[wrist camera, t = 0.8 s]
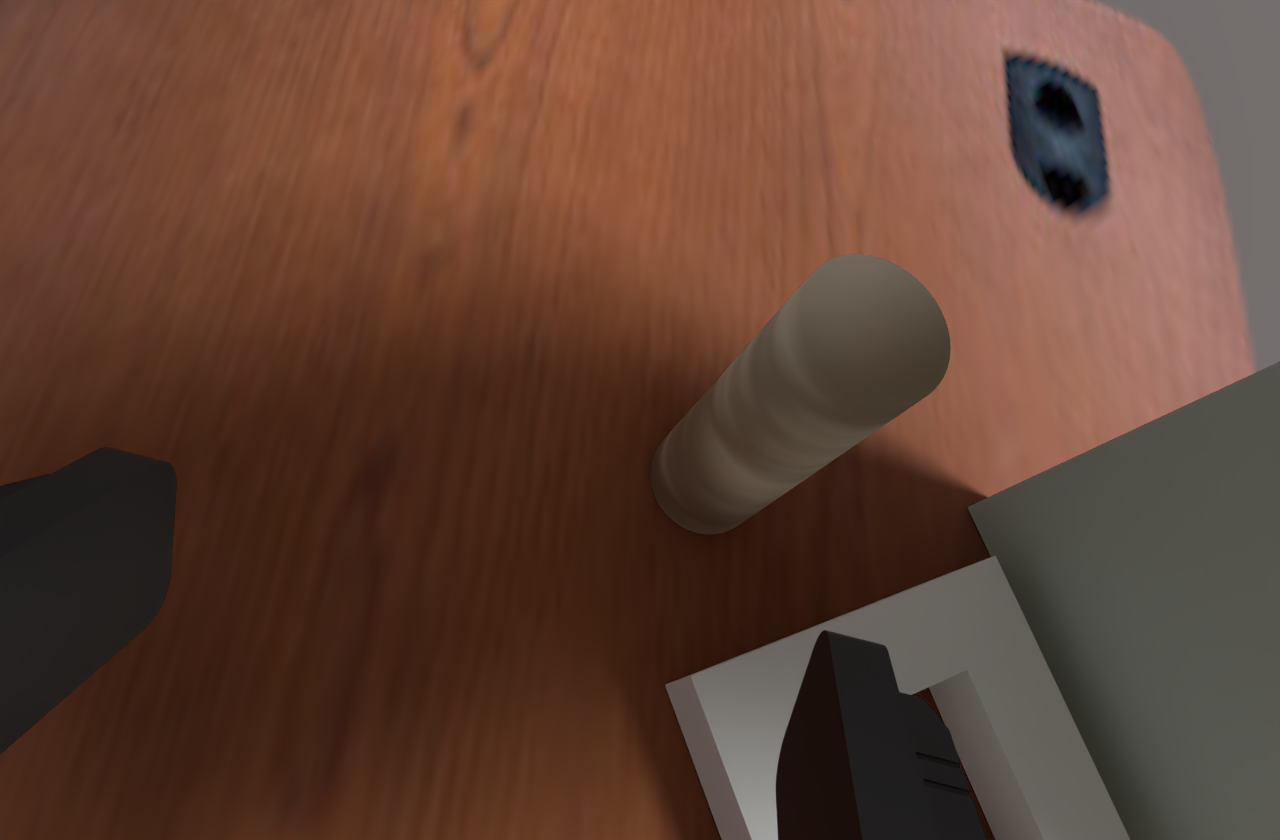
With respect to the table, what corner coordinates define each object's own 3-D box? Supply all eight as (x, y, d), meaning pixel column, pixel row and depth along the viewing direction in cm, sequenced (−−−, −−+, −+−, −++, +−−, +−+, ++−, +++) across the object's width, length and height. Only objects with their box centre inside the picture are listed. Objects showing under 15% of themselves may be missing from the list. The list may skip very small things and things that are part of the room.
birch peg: (633, 441, 33) (773, 270, 22) (731, 414, 34) (907, 241, 24) (674, 549, 32) (841, 424, 21) (774, 516, 33) (976, 383, 23)
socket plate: (664, 684, 30) (690, 675, 28) (953, 571, 35) (995, 555, 32) (813, 1090, 27) (855, 1117, 25) (1108, 908, 32) (1166, 916, 29)
